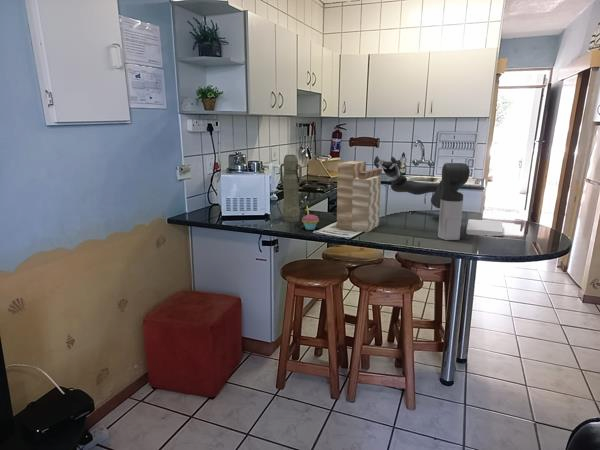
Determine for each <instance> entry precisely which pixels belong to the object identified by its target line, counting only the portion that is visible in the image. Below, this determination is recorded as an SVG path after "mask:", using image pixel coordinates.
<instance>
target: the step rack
mask: <svg viewBox="0 0 600 450" xmlns="http://www.w3.org/2000/svg"><path fill="white" fill-rule="evenodd" d="M363 171H367V161H361V160H360V161H359V160H358V161H357V160H350V161H344V162H338V163H337V177H336V178H337V181H336V182H337V183H336V184H337V185H336V186H337V187H336V189H337V191H336V192H337V194H336V197H337V198H336V202H337V203H336V229H337V228H340V229H339V230H345V229H348V230H347V231H353V230H357V231H356V232H360V231H364V232H363V233H368V232H371V231H372V230H374V229H375V227H376V228H377V227H379V226H380V210H381V209H380V208H381V183H382V182H381V179H382V178H381V175H378V176H375V177H371V178H368V179H359V172H363Z"/></svg>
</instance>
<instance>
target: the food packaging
mask: <svg viewBox="0 0 600 450" xmlns="http://www.w3.org/2000/svg"><path fill="white" fill-rule="evenodd" d="M503 230H504V229H503V221H502V220H501V221H500V220H499V221H498V220H486V219H485V220H484V219H472V218H471V219H470V218H468V222H467V225H466V233H465V234H466V235H472V236H485V237H503V234H504V233H503V232H504V231H503Z"/></svg>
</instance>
